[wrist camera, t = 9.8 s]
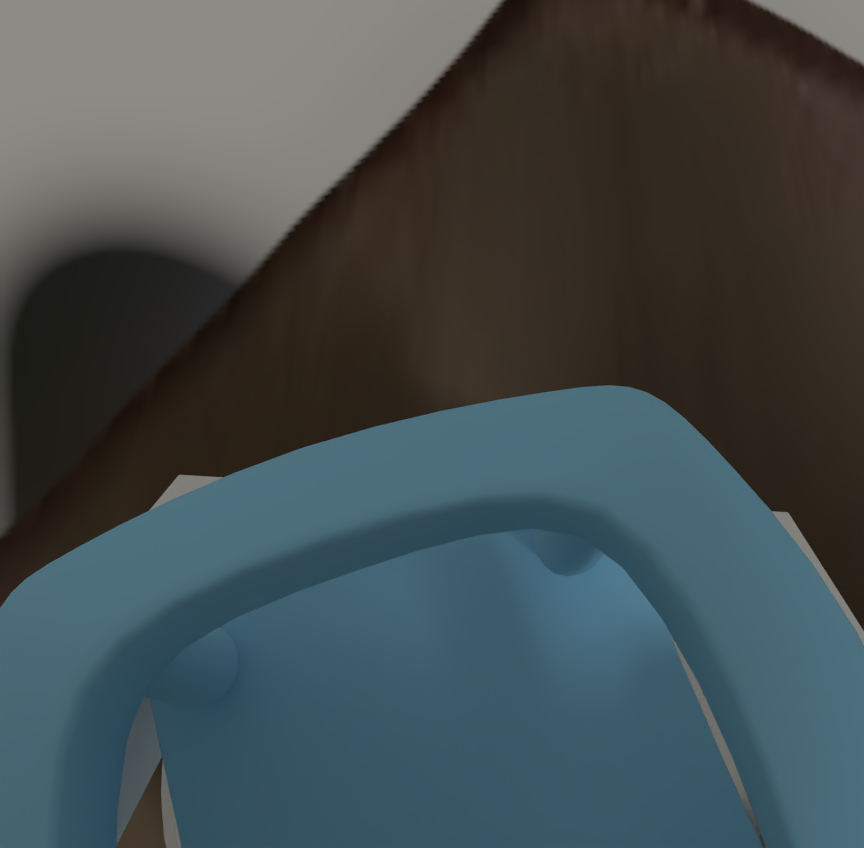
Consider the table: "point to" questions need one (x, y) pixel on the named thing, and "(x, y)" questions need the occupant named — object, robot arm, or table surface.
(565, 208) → the table surface
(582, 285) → the table surface
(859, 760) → the chair
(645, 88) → the table surface
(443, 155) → the table surface
